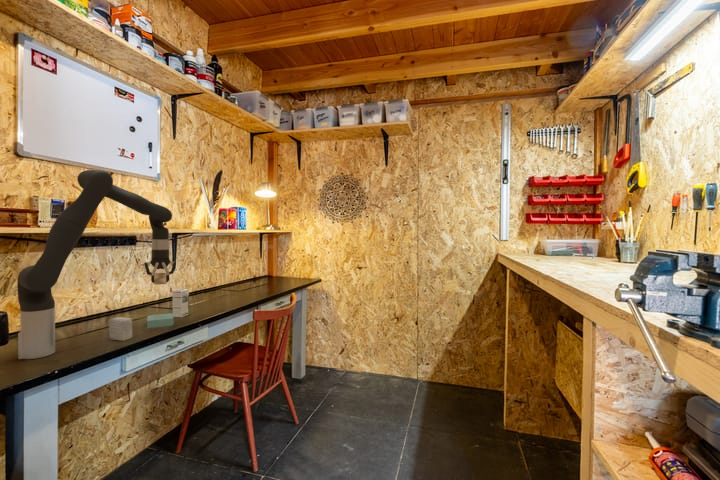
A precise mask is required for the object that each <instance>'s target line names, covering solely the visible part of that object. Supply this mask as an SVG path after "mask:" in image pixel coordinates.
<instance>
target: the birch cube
mask: <svg viewBox="0 0 720 480" xmlns="http://www.w3.org/2000/svg"><path fill="white" fill-rule="evenodd" d="M166 275H167V274H166V272H155V274H154V283H153V285H155V286H156V285H167V283H166Z"/></svg>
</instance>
